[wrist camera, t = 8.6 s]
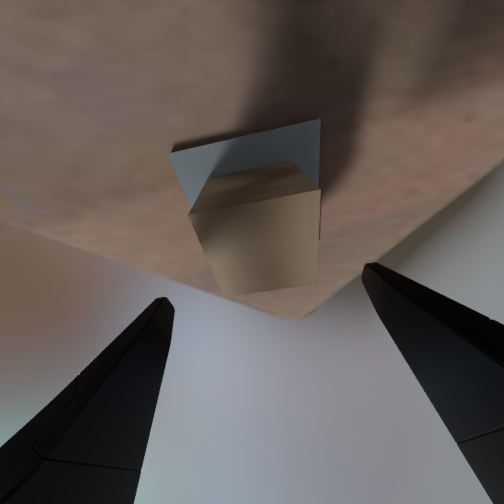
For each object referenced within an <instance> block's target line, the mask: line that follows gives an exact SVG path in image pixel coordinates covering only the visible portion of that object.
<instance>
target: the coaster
mask: <svg viewBox="0 0 504 504" xmlns="http://www.w3.org/2000/svg"><path fill="white" fill-rule="evenodd" d="M320 127H321V119H318V118H317V119H313V120H309V121H304V122H300V123H296V124H291V125H287V126H283V127H278V128H274V129H269V130H265V131H261V132H256V133H252V134H248V135H243V136H239V137H235V138H230V139H226V140H222V141H217V142H213V143H209V144H204V145H200V146H196V147H191V148H187V149H182V150H178V151H174V152H170V153H168V155H169V158H170V160H171V162H172V165H173V167H174V170H175V172H176V174H177V177H178V179H179V181H180V184H181V186H182V189H183V191H184V193H185V196H186V198H187V201H188V203H189V205H190V208H191V209H192V207H193V205H194V203H195V201H196V199H197V197H198V195H199V194H200V192H201V190H202V188H203V186H204V184H205V182H206V180H207V179H208V178H210V177H215V176H220V175H224V174H229V173H234V172H239V171H244V170H249V169H254V168H258V167H263V166H268V165H273V164H278V163H283V162H288V161H292V162H293V163H294V164H295V165H296V166H297V167H298V168H299V169H300V170H302V171H303V172H304V173H305V174H306V175H307V176H308V177H309V178H310V179H311V180H312V181H313V182H314V183H315V184H316V185H317V186H318V187H319V160H320Z"/></svg>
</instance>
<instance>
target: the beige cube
mask: <svg viewBox="0 0 504 504" xmlns="http://www.w3.org/2000/svg"><path fill="white" fill-rule="evenodd" d="M320 198H321V189H320V188H319V187H318V186H317V185H316V184H315V183H314V182H313V181H312V180H311V179H310V178H309V177H308V176H307V175H306V174H305V173H304V172H303V171H302V170H300V169H299V168H298V167H297V166H296V165H295V164H294V163H293V162H292V161H288V162H283V163H278V164H273V165H268V166H263V167H258V168H254V169H249V170H244V171H239V172H234V173H229V174H224V175H220V176H215V177H210V178H208V179H207V180H206V182H205V184H204V186H203V188H202V190H201V192H200V194H199V195H198V197H197V199H196V201H195V203H194V205H193V207H192V209H191V211H190V212H189V214H188V216H189V218H190V220H191V223H192V225H193V227H194V229H195V232H196V234H197V236H198V239H199V241H200V243H201V246H202V248H203V250H204V253H205V255H206V257H207V260H208V262H209V264H210V267H211V269H212V271H213V274H214V276H215V278H216V281H217V283H218V285H219V288H220V290H221V292H222V295H223V297H224V298H225V297H232V296H238V295H245V294H251V293H258V292H264V291H271V290H277V289H284V288H290V287H297V286H303V285H310V284H316V283H317V264H318V242H319V220H320Z"/></svg>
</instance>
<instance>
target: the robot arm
mask: <svg viewBox="0 0 504 504" xmlns="http://www.w3.org/2000/svg"><path fill="white" fill-rule="evenodd" d="M362 283H363V285H364V287H365V289H366V291H367V293H368V295H369V297H370V300H371V302H372V304H373V306H374V308H375V310H376V312H377V314H378V316H379V317H380V319H381V321H382V323H383V324H384V325H385V327H386V329H387V330H388V332H389V334H390V336H391V337H392V339H393V340H394V342H395V344H396V345H397V347H398V349H399V350H400V351H401V354H402V355H403V357H404V358H405V360H406V362H407V363H408V365H409V366H410V368H411V370H412V372H413V373H414V375H415V376H416V378H417V380H418V381H419V383H420V385H421V386H422V388H423V389H424V391H425V392H426V394H427V396H428V398H429V399H430V401H431V403H432V404H433V406H434V407H435V409H436V411H437V412H438V414H439V416H440V417H441V419H442V421H443V422H444V424H445V425H446V427H447V429H448V430H449V432H450V434H451V435H452V437H453V438H454V440H455V442H456V443H457V445H458V447H459V449H460V450H461V452H462V453H463V455H464V457H465V458H466V460H467V462H468V463H469V465H470V467H471V468H472V470H473V471H474V473H475V475H476V476H477V478H478V480H479V481H480V483H481V484H482V486H483V488H484V489H485V491H486V493H487V494H488V496H489V498H490V499H491V501H492V502H493V504H504V325H503V324H501V323H499V322H497V321H495V320H490V318H488V317H487V316H485V315H482V314H480V313H478V312H476V311H474V310H472V309H470V308H468V307H466V306H464V305H462V304H460V303H458V302H456V301H454V300H452V299H450V298H448V297H446V296H444V295H442V294H440V293H438V292H436V291H434V290H431V289H429V288H428V287H426V286H423V285H421V284H419V283H417V282H415V281H413V280H411V279H409V278H407V277H405V276H403V275H401V274H399V273H397V272H395V271H393V270H391V269H389V268H387V267H385V266H383V265H381V264H379V263H376V262H373V263H367V264H365V265H364V269H363V273H362ZM174 313H175V310H174V307H173V305H172V304H171V302H170V301H169V300H168V298H166V297H161V298H157V299H155V300H154V301H153V302H152V303H151V304H150V305H149V306H148V307H147V308H146V309H145V310H144V311H143V312H142V313H141V314H140V315H139V316H138V317H137V318H136V319H135V320H134V321H133V322H132V323H131V324H130V325H129V326H128V327H127V328H126V329H125V330H124V331H123V332H122V333H121V334H120V335H119V336H118V337H117V338H115V340H114V341H112V342H111V343H110V344H109V345H108V346H107V347H106V348H105V349H104V350H103V351H102V352H101V353H100V354H99V355H98V356H97V357H96V358H95V359H94V360H93V361H92V362H91V363H90V364H89V365H88V366H87V367H86V368H85V369H84V370H83V371H82V372H81V373H80V375H78V376H77V377H76V378H75V379H74V380H73V381H72V382H71V383H70V384H69V385H68V386H67V387H66V388H65V389H64V390H62V391H61V392H60V394H58V395H57V396H56V397H55V398H54V399H53V400H52V401H51V402H50V403H49V404H48V405H47V406H45V407H44V408H43V409H42V410H41V411H40V412H39V413H38V414H37V415H36V416H35V417H34V418H32V419H31V420H30V421H29V422H28V423H27V424H26V425H25V426H24V427H23V428H21V429H20V430H19V431H18V432H17V433H16V434H15V435H14V436H12V437H11V438H10V439H9V440H8V441H7V442H6V443H5V444H4V445H2V446H1V447H0V504H134V500H135V496H136V491H137V487H138V483H139V478H140V474H141V468H142V465H143V460H144V456H145V452H146V448H147V443H148V439H149V435H150V430H151V426H152V422H153V417H154V413H155V408H156V404H157V400H158V396H159V391H160V387H161V383H162V378H163V374H164V370H165V366H166V361H167V357H168V353H169V348H170V343H171V337H172V329H173V321H174Z"/></svg>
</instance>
